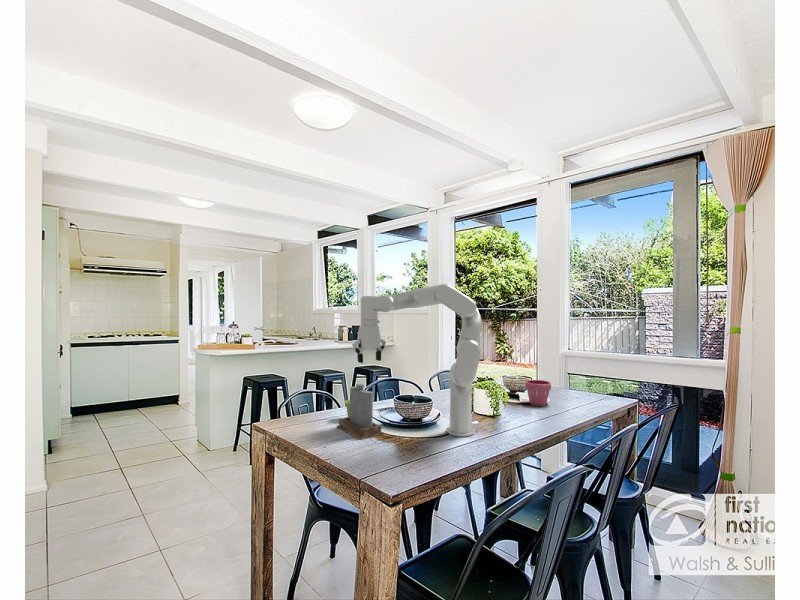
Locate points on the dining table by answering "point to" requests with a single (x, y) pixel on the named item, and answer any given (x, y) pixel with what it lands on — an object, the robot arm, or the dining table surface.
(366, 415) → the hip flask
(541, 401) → the plant pot
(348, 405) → the plant pot
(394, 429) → the dining table surface
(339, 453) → the dining table surface
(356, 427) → the walnut stand
